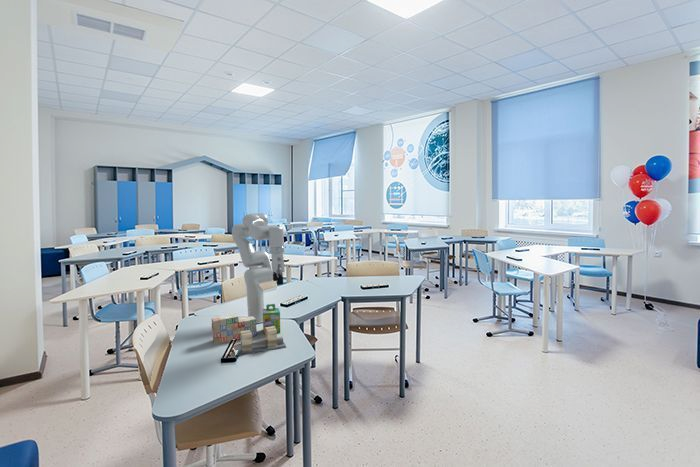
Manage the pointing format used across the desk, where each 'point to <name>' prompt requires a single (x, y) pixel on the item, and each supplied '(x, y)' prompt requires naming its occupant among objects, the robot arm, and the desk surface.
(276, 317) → the chalk box
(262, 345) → the rail fixture
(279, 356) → the desk surface
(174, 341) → the desk surface
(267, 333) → the block
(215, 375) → the desk surface
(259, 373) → the desk surface
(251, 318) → the stack of blocks
